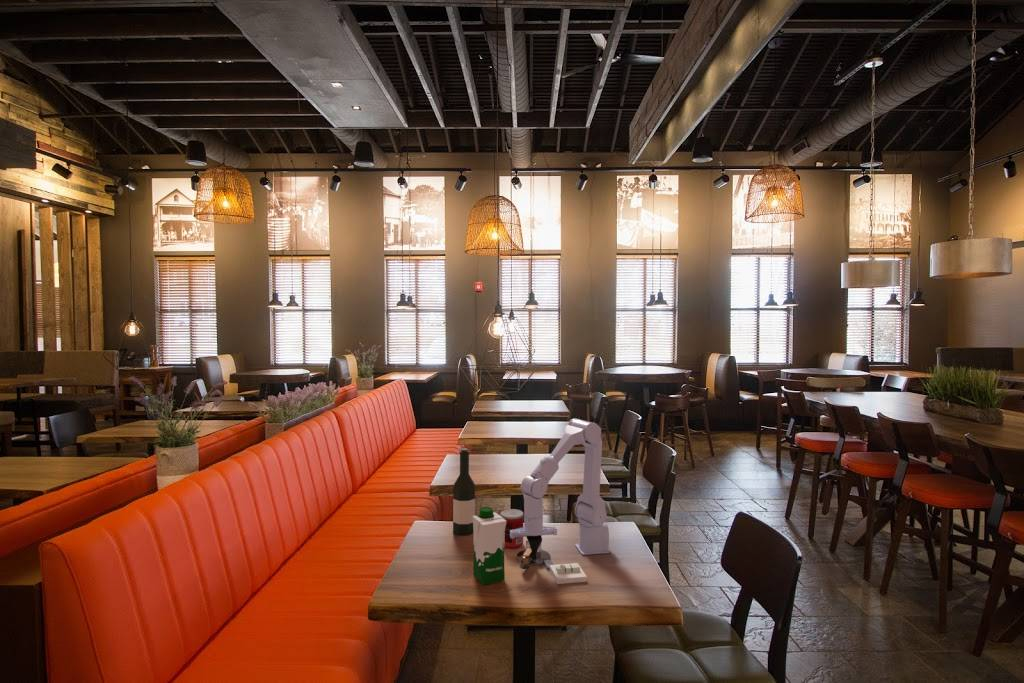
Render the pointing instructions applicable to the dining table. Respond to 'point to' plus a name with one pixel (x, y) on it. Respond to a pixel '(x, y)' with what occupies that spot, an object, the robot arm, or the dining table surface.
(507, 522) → the canned food
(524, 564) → the round-headed metal tool
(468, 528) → the wine bottle
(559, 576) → the stand board
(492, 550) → the milk carton
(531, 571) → the dining table surface
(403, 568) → the dining table surface
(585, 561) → the dining table surface
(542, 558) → the dial base
